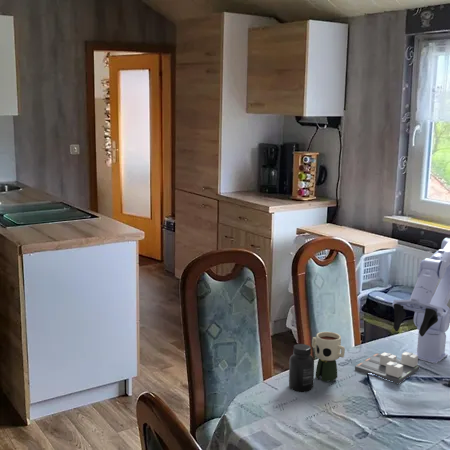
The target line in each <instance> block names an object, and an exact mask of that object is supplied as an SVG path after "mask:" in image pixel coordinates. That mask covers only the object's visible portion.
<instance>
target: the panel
mask: <svg viewBox="0 0 450 450" xmlns="http://www.w3.org/2000/svg"><path fill="white" fill-rule="evenodd" d="M381 354H382V353H379V352H377V353H375V354H373V355H372V356H370V357H368V358H367V359H365V360H363V361H361V362H360V363H358V364H356V365H355V366H354V370H355V371H357V372H359V373H363V374H366V375H368V374H367V373H372V374H375V375H377V376H380V377H382V378H384V379H387V380H390V381H393V382H395V383H394V384H396V383H398V384H397V385H400V384H401V383H402V381H403V380H404V379H405V380H407V379H408V378H410V377H412V375H414V374H415V373H417V372H418V371H420V367H421V365H418V364H417V365H416V366H415V367H411V366H408V365H404V364H401V359H399V358H396V363H398V364H401V365H403V374H402V376H400V377H399V378H397V377H394V376H391V375H388V374H385V373H386V366H384V365H381V364H380V355H381ZM409 376H410V377H409ZM407 377H408V378H407ZM406 378H407V379H406ZM384 379H383V380H384ZM387 380H386V381H387ZM405 380H404V381H405ZM390 381H389V382H390ZM404 381H403V382H404ZM393 382H392V383H393ZM400 382H401V383H400ZM399 383H400V384H399Z"/></svg>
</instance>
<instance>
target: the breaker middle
mask: <svg viewBox="0 0 450 450" xmlns="http://www.w3.org/2000/svg"><path fill="white" fill-rule="evenodd" d="M380 354H381V355H380V364H381V365H384V366H386V364H387V363H388V362H390V361H391V362H394V363H395V362H396V359H397V355H394V354H393V353H390V352H389V353H388V352H385V351H383V352H382V353H380Z"/></svg>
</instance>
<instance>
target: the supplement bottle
mask: <svg viewBox="0 0 450 450" xmlns="http://www.w3.org/2000/svg"><path fill="white" fill-rule="evenodd" d="M292 353H293V354H291V356H289V361H288V362H289V367H288V387H289V388H290V390H292V391H294V392H296V393H307V392H308V393H309V392H310V391H312V390H313V389H314V378H315V377H314V375H315V359H314V356H313V355H312V346H310V345H309V344H305V343H304V344H303V343H298V344H294V345H293V351H292Z"/></svg>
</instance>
